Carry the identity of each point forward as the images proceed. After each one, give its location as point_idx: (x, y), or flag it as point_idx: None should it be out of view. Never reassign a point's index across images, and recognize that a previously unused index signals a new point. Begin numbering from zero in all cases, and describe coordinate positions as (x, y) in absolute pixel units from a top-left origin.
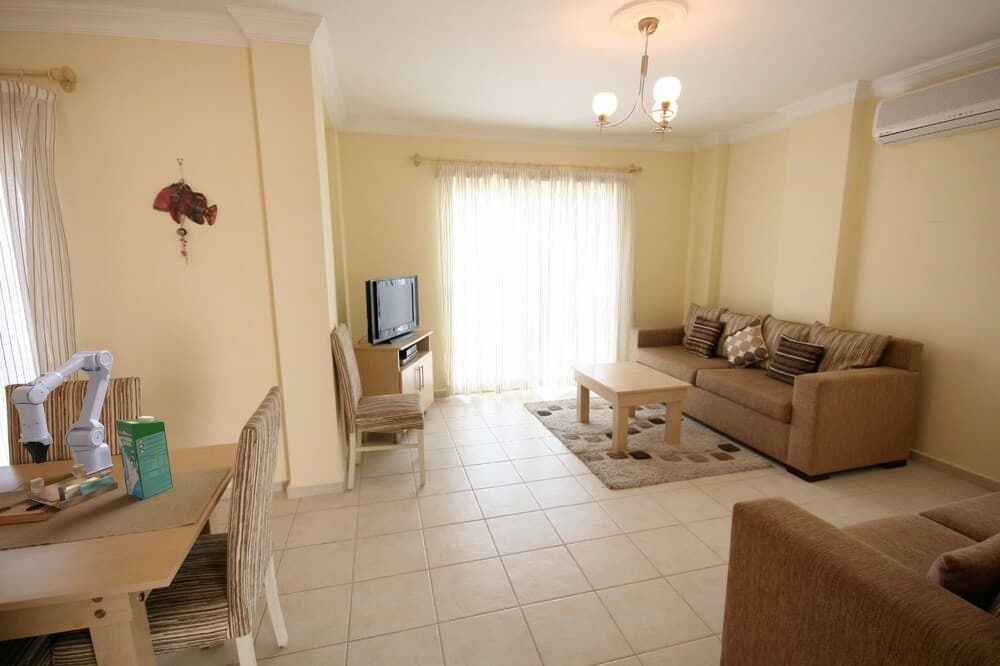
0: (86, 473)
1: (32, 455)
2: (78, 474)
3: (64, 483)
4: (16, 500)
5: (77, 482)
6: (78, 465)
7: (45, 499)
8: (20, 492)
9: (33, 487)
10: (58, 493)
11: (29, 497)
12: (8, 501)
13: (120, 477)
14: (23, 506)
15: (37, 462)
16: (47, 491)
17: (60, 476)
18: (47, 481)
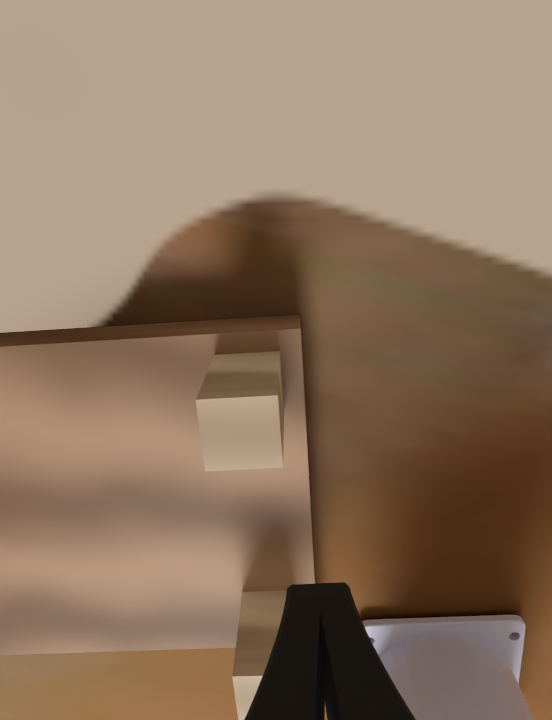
0: (376, 647)
1: (340, 696)
2: (240, 623)
3: (232, 522)
4: (364, 264)
5: (158, 563)
6: None
7: (12, 345)
8: (517, 338)
9: (226, 373)
10: (43, 430)
11: (272, 321)
12: (408, 228)
13: (111, 688)
14: (169, 244)
15: (287, 604)
16: (173, 411)
17: (543, 568)
18: (539, 500)
